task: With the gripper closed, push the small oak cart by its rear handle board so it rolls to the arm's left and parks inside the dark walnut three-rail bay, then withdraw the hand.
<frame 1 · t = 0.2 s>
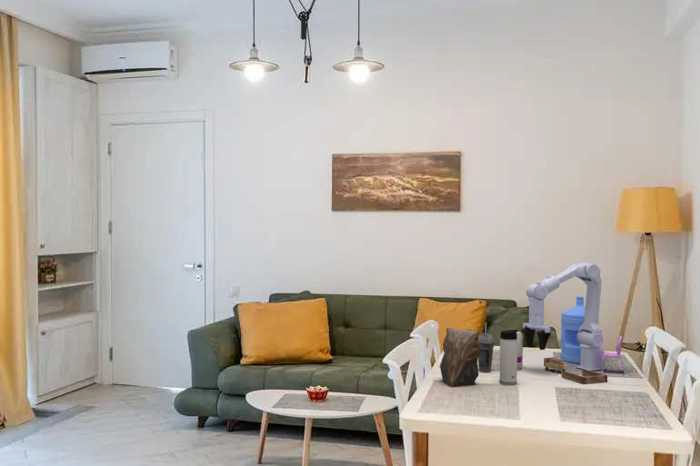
hand: (536, 348, 276), 10 cm above the table, tool pointing down, fingers open, 7 cm apart
toy chair: (613, 372, 278), on the table
beverage cup: (485, 371, 277), on the table
brown rough lump: (456, 384, 255), on the table
water jug: (579, 361, 302), on the table
cart: (555, 371, 279), on the table
supplement can: (512, 368, 284), on the table
travel mug: (508, 383, 257), on the table
bay: (583, 379, 264), on the table
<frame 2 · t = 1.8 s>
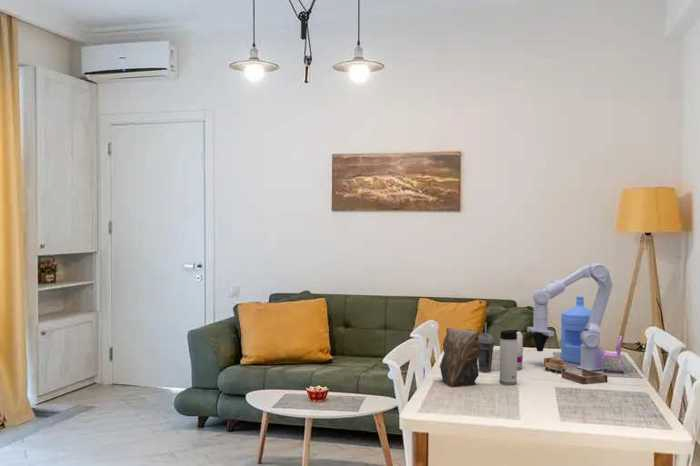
hand: (539, 351, 288), 7 cm above the table, tool pointing down, fingers closed
nothing on the table moved.
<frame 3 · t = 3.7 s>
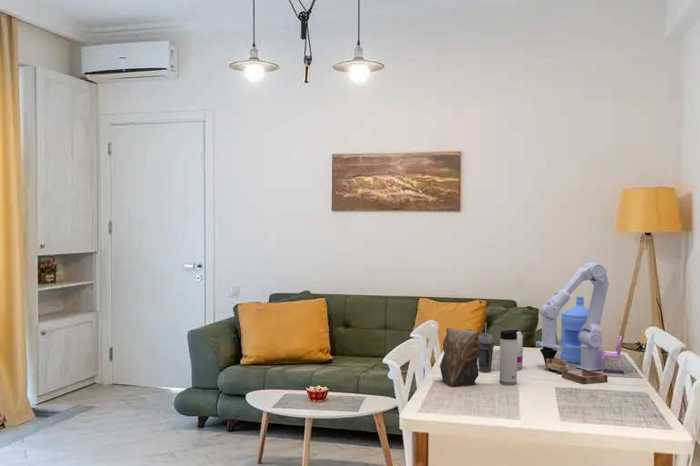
hand: (548, 366, 283), 1 cm above the table, tool pointing down, fingers closed
cart: (557, 372, 277), on the table, touching gripper
everything else where it was.
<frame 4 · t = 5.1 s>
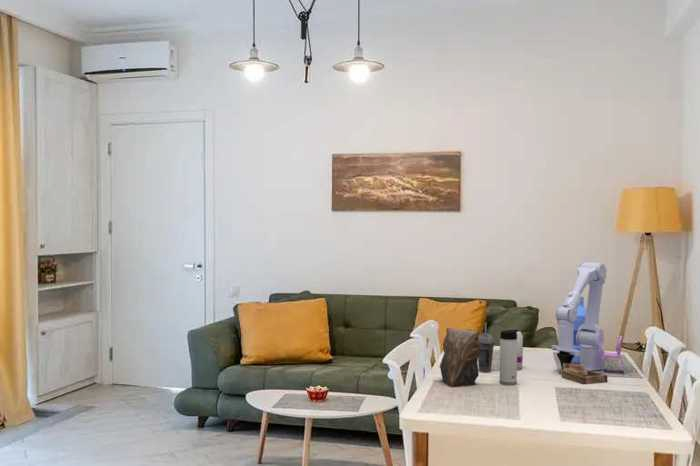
hand: (565, 371, 273), 1 cm above the table, tool pointing down, fingers closed
cart: (574, 377, 268), on the table, touching gripper
everything else where it was.
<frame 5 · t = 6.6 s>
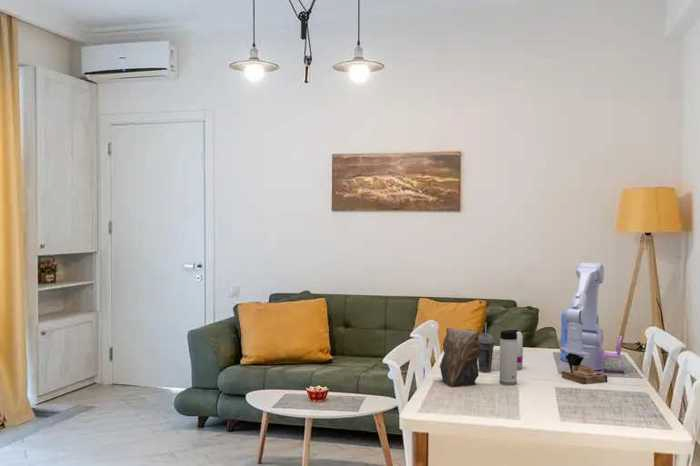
hand: (574, 373, 269), 1 cm above the table, tool pointing down, fingers closed
cart: (584, 379, 264), on the table, touching gripper
everything else where it was.
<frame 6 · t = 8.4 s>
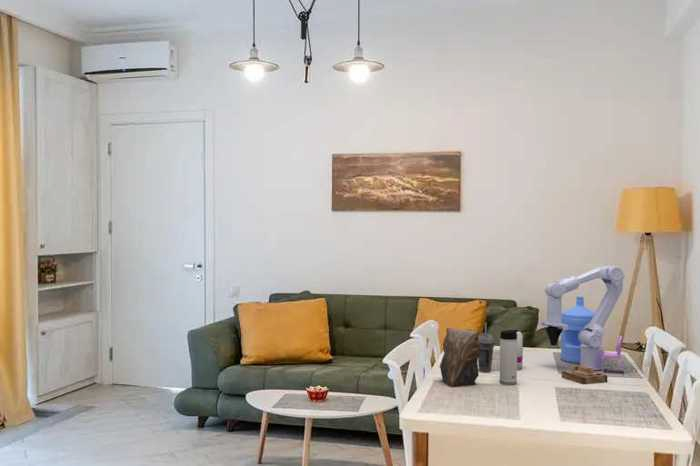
hand: (553, 345, 283), 10 cm above the table, tool pointing down, fingers closed
cart: (584, 379, 264), on the table
everything else where it was.
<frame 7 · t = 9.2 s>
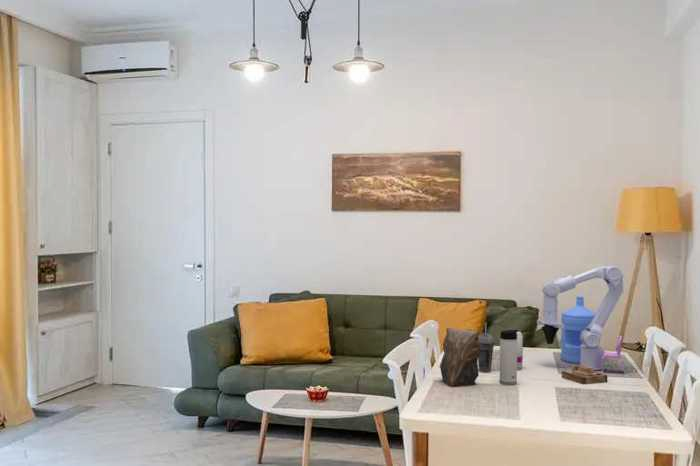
hand: (549, 343, 286), 10 cm above the table, tool pointing down, fingers closed
nothing on the table moved.
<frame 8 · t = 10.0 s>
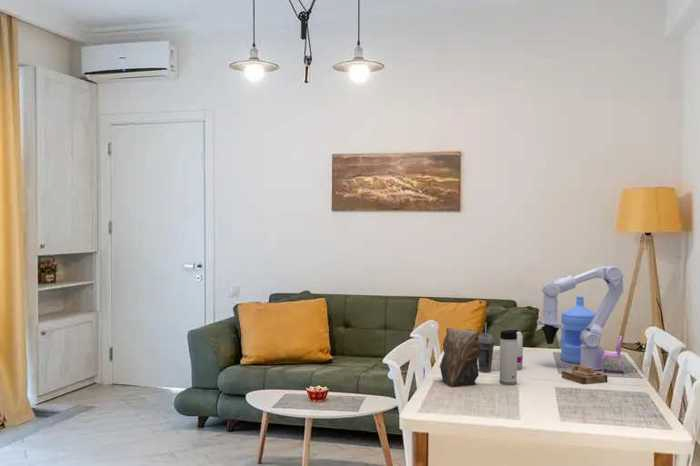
hand: (549, 343, 286), 10 cm above the table, tool pointing down, fingers closed
nothing on the table moved.
at the end: cart inside the target area on the bay (0.5 cm from its centre), point 0.0 cm above the bay's base; cart tilted 0°; cart moved 16.7 cm from its start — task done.
